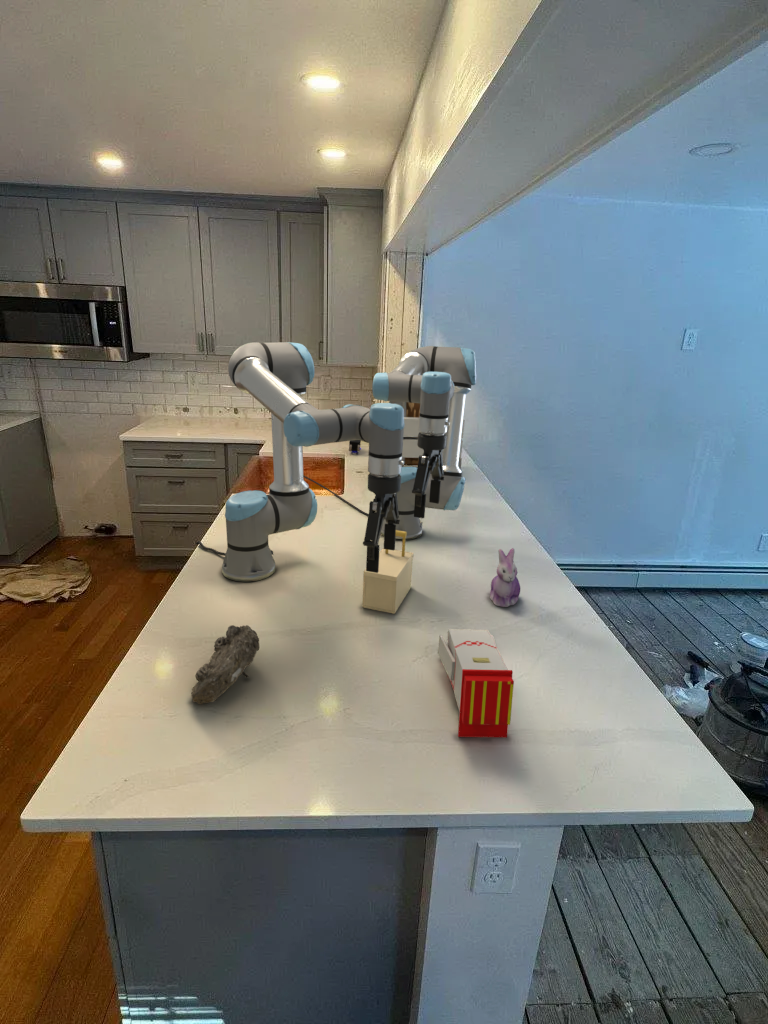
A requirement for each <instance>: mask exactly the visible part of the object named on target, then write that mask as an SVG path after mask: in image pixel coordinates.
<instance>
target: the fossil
mask: <svg viewBox="0 0 768 1024" xmlns="http://www.w3.org/2000/svg"><path fill="white" fill-rule="evenodd" d="M213 647H214V649H213V650H214V652H213V654H212V656H211V658H210V659H209V661H208V663H205V664H203V665H202V666H201V667H200V668H198V670H197V671H196V673H195V676H194V677H195V679H196V681H197V682H196V683H195V685H194V686H193V687H192V688H191V700H192V702H193V703H197V704H198V705H203V704H207V703H214V702H215V701H216V700H218V698H219V697H221V696H222V695H223V694H224V693H226V692H227V690H228V689H229V688H231V686H233V684H235V683H236V682H237V680H238V678H239V677H240V676H241V675H243V676H244V677H245V678H249V675H248V674H247V673H246V672H245V669H246V668H247V667H248V666H250V665H251V663H253V662H254V658H255V656H256V654H257V652H259V650H260V637H259V636H258V633H257V632H256V630H254V629H252V628H251V626H249V625H247V624H246V625H240V626H236V625H234V624H233V625H229V626H228V627H227V630H226V631H225V636H220V637H219V636H218V637H217V638H216V639H215V641H214V645H213Z"/></svg>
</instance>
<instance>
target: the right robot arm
mask: <svg viewBox="0 0 768 1024" xmlns="http://www.w3.org/2000/svg"><path fill="white" fill-rule="evenodd" d="M476 360H477V359H476V352H475V350H473V348H467V347H461V346H460V347H456V346H437V345H436V346H435V345H427V346H426V345H425V346H421V347H418V348H415V349H412V350H410V351H407V353H405V354H404V355H402V357H401V358H400V360H399V361H398V365H396V366H395V368H393V369H392V370H391V371H390V372H385V371H384V372H377V373H375V374H374V376H373V380H372V387H371V388H372V389H371V390H372V396H373V398H374V399H375V400H378V401H384V402H389V401H396V402H410V403H420V414H419V425H418V430H419V432H420V433H419V434H418V443H417V445H418V447H419V448H421V449H423V450H424V453H423V455H422V456H421V455H419V460H418V466H404V467H402V468H401V473H400V476H401V489H400V491H399V492H397V502H398V511H399V518H398V519H397V520H400V523H399V524H395V525H396V530H398V531H404V532H407V536H406V540H405V541H410V540H415V539H418V538H420V537H421V536H422V535H423V523H424V522H423V521H421V519H425V517H426V516H425V515H426V514H425V513H426V509H434V510H443V511H456V510H458V509H459V508H460V504H461V501H462V498H463V493H464V489H465V484H466V480H467V479H466V477H465V476H462V475H463V471H462V469H461V470H460V469H459V467H458V463H459V454H460V444H461V440H462V438H461V435H462V425H463V419H464V417H465V416H464V414H465V406H466V397H467V394H469V393H470V392H471V391H472V386H475V385H476V384H477V362H476ZM303 478H304V479H306V480H308V481H310V482H312V483H314V484H315V485H318V486H319V487H321V488H323V489H324V490H326V491H327V492H329V493H330V494H332V495H334V496H335V497H336V498H338V499H339V500H340V501H342V502H345V503H346V504H347V505H349V506H350V507H352V508H353V509H355V510H356V511H358V512H360V513H361V514H363V515H365V516H367V517H368V515H369V513H368V512H365V511H363V510H362V509H360V508H359V507H357V506H356V505H354V504H353V503H351V502H349V501H347V500H346V499H344V498H343V497H342V496H339V494H337V493H335V492H334V491H332V490H331V489H329V488H327V487H326V486H324V485H322V484H321V483H319V482H317V481H315V480H313V479H312V478H311V477H308V476H307V475H304V474H303ZM385 524H388V523H386V520H385V519H384V521H383V525H382V530H381V534H380V536H382V537H384V529H385ZM402 540H403V537H399V536H396V537H395V541H402Z"/></svg>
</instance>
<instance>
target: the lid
mask: <svg viewBox="0 0 768 1024" xmlns="http://www.w3.org/2000/svg"><path fill="white" fill-rule="evenodd" d="M396 536H399V537H403V540H401V541H402V543H401V550H399V549H395V550H388V549H384V547H383V548H381V550H379V572H378V573H375V572H369V571H366V568H365V569H364V570H363V576H369V577H375V578H380V579H386V580H391V581H397V580H398V579H399V577H400V576H401V574H402V573H403V571H404V570H405V568H406V567H407V565H408V564H409V562H410V561H411V560H412V558H413V559H414V555H415V553H414V552H411V551H406V541H407V540H406V536H407V532H404V531H398V530H396Z"/></svg>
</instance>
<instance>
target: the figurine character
mask: <svg viewBox="0 0 768 1024" xmlns="http://www.w3.org/2000/svg"><path fill="white" fill-rule="evenodd" d="M348 442H349V443H348V451H349V452H350V454H351V455H353V454H356V455H358V454H359V452H361V450H362V447H361V443H362V441H361V440H353V441H348Z"/></svg>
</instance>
